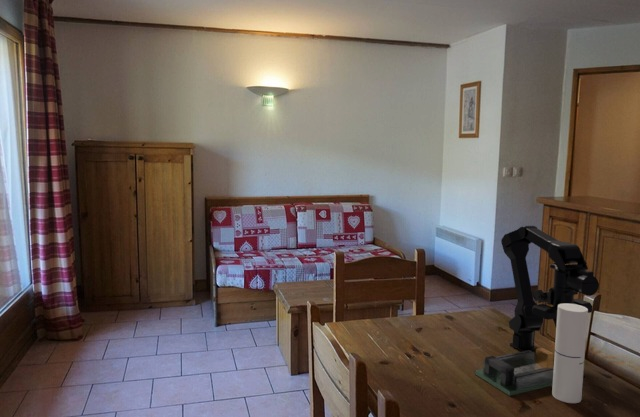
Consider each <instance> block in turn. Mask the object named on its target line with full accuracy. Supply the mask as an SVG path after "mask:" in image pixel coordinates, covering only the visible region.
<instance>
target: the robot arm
mask: <svg viewBox="0 0 640 417" xmlns="http://www.w3.org/2000/svg"><path fill="white" fill-rule="evenodd" d="M500 241H501V247H502V249H503V252H504V254H505V255H506V257H507V258H508V259H509V260H510V265H511V270H512V276H513V281H514V282H513V283H514V288H515V293H516V299H517V304H516V305H515V308H514V316H513V317H512V318H511V319H510V320H509V321H508V325H509V329H510V330H512V331H513V333H512V342H511V343H509V345H510V346H512V347H513V348H515V349H517V350H520V352H523V351H528V350H530V351H534V350H535V351H536V349H537V348H539V347H538V346H535V339H536V338H535V337H536V332H540V331H541V328H542V326H543V323H544V320H548V321H549V320H553V323H554V327H555V328H556V325H557V310H558V305H559V304H562V303H569V304H577V305H581V306H584V307H586V308H587V309H588V314H591V313H593V305H592V303H591V302H590V301H586V300H583V299H581V298H575V296H576V295H578V293H579V294H582V295H584V296H588V297H590V296H593V295H595V294H596V293H598V290H599V288H600V283H599V280H598V278H596V276H594V274H595V273H594V271H592V270H589V268H588V264H587V262H586V260H585V258H584V256H583V253H582V251H581V247H580V246H578V245H577V244H575V243H572V242H571V243H570V242H567V241H561V240H559V239H557V238H554V237H553V236H552V235H549V234H547V233H546V232H544V231H542V230H540V229H539V228H538V227H537V226H535V225H523V226H520V227H519V228H518V229H515V230H513V231H511V232H508V233H505V234H504V235H503V236H502V238H501V240H500ZM530 244H534V245H535V246H537V247H538V248H540V249H541V250H543V251H545V252H546V253H547V254H548V258H549V259H550V260H552V261H553V263H552V264H550V265H549V268H550V269H554V272H553V274H554V275H553V286H550V287H549V289H548V291H543V289H535V290H533V289H532V285H531V284H532V283H531V279H530V273H529V269H528V268H529V267H528V263H527V255H528V253H529V250H530ZM532 290H533V291H532ZM536 301H537V302H536ZM537 303H538V304H537Z"/></svg>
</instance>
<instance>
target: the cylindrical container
mask: <svg viewBox="0 0 640 417" xmlns="http://www.w3.org/2000/svg"><path fill="white" fill-rule="evenodd" d="M588 315H589V313H588V309H587V308H586V307H584V306H581V305H577V304H569V303H562V304H559V305H558V310H557V325H556V327H555V342H554V343H555V344H554V358H553V367H554V371H553V386H551V387H552V390H551V394H552V396H553V397H554V398H555V399H556V400H558V401H560V402H563V403H568V404H577V403H581V401H582V398H583V397H582V396H583V395H582V393H583V385H584V384H583V382H584V381H583V380H584V369H585V353H586V340H587V329H588Z"/></svg>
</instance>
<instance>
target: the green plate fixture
mask: <svg viewBox="0 0 640 417" xmlns="http://www.w3.org/2000/svg"><path fill="white" fill-rule="evenodd" d="M535 356H536V352H534V351H532V350H528V351H518V352H513V353H509V354H503V355H500V356H494V355H492V356H486V357H484V359H483V367H482V368H480V369H475V371H474V374H475V375H476V376H477V377H479V378H480V379H483V380H484V381H485V382H487V383H489V384H490V385H492V386H493V387H495V388H496V389H498V390H500V391H501V392H502V393H504V394H506V395H507V396H515V395H520V394H524V393H528V392H532V391H536V390H540V389H544V388H548V387H552V386H553V371H554V366H553V367H551V368H546V369H542V370H537V371H533V372H528V373H524V374H519V375H515V376H514V368H518V367H522V366H527V365H532V364H536V363H535Z"/></svg>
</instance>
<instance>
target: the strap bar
mask: <svg viewBox="0 0 640 417" xmlns="http://www.w3.org/2000/svg"><path fill="white" fill-rule="evenodd" d="M554 355H555V352H553V351H551V350H548V349H545V348H544V347H538V348H537V349H535V356H534V360H535V363H536V364H532V365H527V366H522V367H518V368H514V376H515V375H519V374H524V373H528V372H533V371H537V370H542V369H546V368H551V367H554Z"/></svg>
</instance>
